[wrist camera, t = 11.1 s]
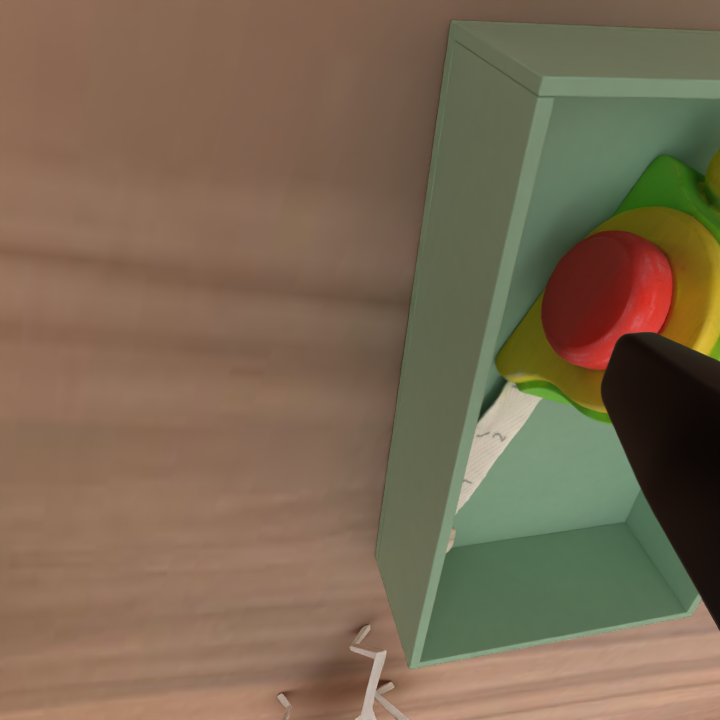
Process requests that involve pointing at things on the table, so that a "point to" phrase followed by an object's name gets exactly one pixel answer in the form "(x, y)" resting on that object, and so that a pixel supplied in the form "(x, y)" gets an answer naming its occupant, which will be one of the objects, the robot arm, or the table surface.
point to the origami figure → (367, 713)
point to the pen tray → (500, 319)
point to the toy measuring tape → (611, 304)
